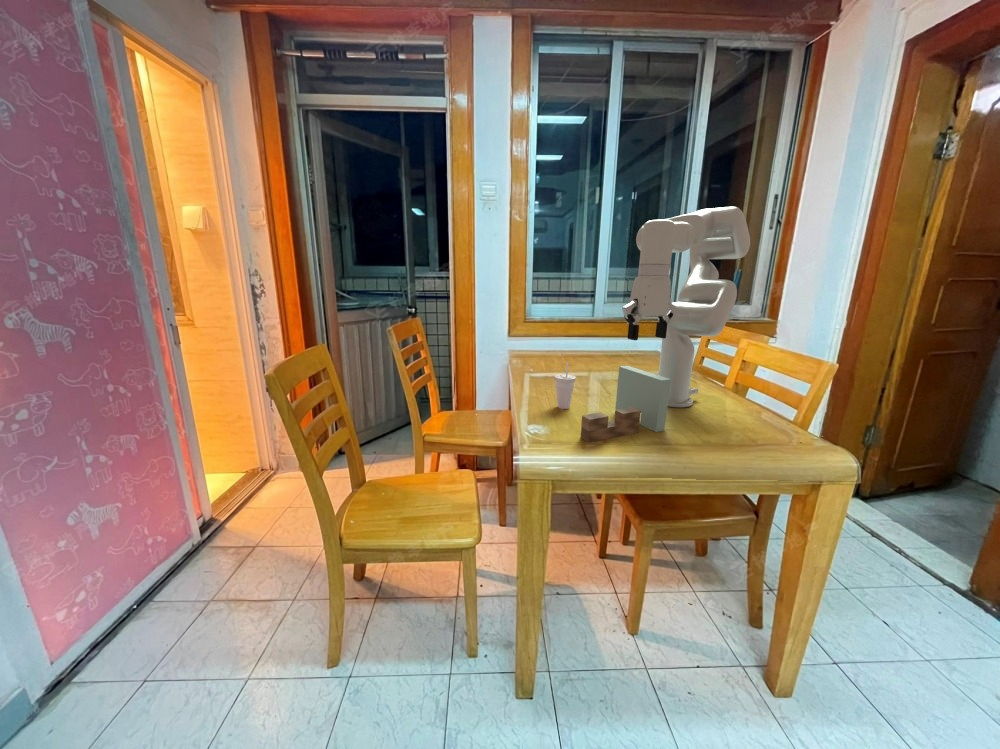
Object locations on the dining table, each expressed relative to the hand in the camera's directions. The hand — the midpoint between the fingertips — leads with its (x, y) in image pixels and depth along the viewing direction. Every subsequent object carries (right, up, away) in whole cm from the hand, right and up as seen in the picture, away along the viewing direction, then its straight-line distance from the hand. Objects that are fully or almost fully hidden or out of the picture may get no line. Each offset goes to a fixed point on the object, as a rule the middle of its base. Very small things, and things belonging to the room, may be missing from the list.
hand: (646, 338), depth 107 cm
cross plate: (0, -23, +6) cm, 23 cm away
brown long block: (-11, -25, -4) cm, 28 cm away
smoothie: (-19, -20, +17) cm, 32 cm away
